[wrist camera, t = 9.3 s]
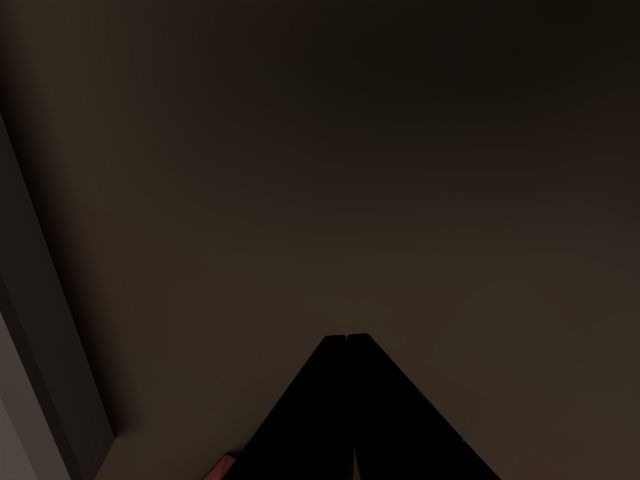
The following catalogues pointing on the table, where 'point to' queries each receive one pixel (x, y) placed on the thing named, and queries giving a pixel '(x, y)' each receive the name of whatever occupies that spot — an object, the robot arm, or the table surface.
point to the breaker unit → (40, 353)
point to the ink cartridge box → (220, 468)
